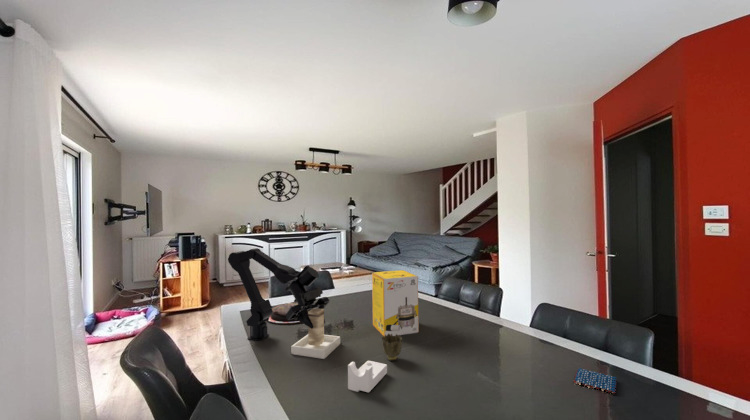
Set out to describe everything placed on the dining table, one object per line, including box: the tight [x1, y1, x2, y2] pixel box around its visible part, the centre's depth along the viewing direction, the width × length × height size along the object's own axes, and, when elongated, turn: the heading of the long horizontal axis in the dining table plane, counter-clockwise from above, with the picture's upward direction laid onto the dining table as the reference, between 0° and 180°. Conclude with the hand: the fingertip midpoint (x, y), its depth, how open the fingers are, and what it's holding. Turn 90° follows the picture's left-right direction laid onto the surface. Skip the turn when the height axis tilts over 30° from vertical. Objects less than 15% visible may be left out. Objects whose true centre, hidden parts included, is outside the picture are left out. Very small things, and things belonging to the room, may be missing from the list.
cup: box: [381, 334, 403, 362], centre depth 116 cm, size 8×7×8 cm
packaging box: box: [371, 269, 420, 337], centre depth 146 cm, size 16×16×25 cm
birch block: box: [307, 308, 325, 346], centre depth 125 cm, size 5×5×13 cm
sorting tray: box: [290, 334, 341, 360], centre depth 125 cm, size 14×14×3 cm
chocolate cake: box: [267, 301, 311, 325], centre depth 167 cm, size 28×28×7 cm
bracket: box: [347, 360, 388, 393], centre depth 101 cm, size 13×7×8 cm, turn 153°
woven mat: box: [573, 367, 617, 394], centre depth 98 cm, size 10×11×2 cm
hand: (318, 325), depth 125 cm, fingers closed on birch block, 6 cm apart
